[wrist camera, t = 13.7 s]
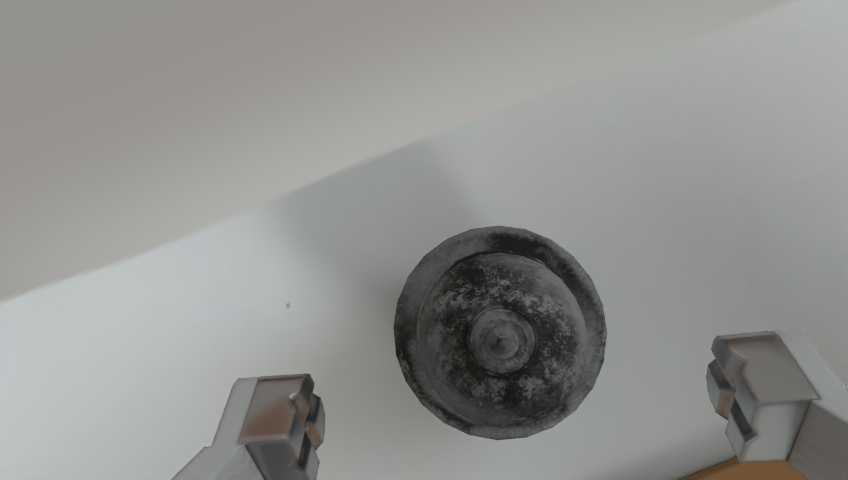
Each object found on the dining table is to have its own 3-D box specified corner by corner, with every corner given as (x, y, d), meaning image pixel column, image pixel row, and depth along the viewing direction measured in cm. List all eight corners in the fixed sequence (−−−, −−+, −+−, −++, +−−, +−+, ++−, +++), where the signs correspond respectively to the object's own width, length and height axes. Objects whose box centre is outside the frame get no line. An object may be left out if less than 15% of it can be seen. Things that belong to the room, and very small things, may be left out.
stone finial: (434, 435, 19) (340, 621, 7) (393, 265, 20) (254, 191, 8) (608, 395, 19) (802, 525, 7) (558, 223, 20) (657, 81, 8)
